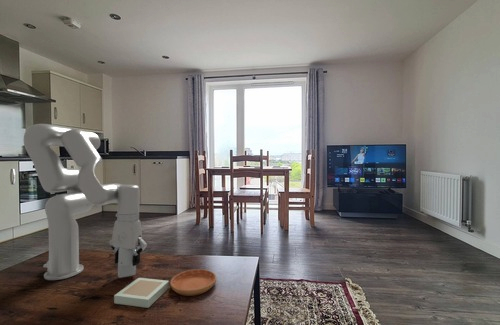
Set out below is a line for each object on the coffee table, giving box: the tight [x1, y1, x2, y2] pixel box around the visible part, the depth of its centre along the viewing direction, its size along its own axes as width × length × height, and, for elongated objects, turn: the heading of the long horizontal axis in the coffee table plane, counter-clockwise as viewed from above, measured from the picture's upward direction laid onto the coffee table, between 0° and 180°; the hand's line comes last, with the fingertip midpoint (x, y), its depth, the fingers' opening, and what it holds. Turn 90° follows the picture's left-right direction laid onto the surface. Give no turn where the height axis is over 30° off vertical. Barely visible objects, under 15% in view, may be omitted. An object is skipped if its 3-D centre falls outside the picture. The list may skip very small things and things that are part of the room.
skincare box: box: [117, 245, 137, 279], centre depth 95 cm, size 6×4×12 cm
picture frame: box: [113, 277, 170, 309], centre depth 82 cm, size 12×12×3 cm
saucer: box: [169, 268, 217, 297], centre depth 88 cm, size 16×16×3 cm
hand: (127, 263), depth 95 cm, fingers closed on skincare box, 7 cm apart
